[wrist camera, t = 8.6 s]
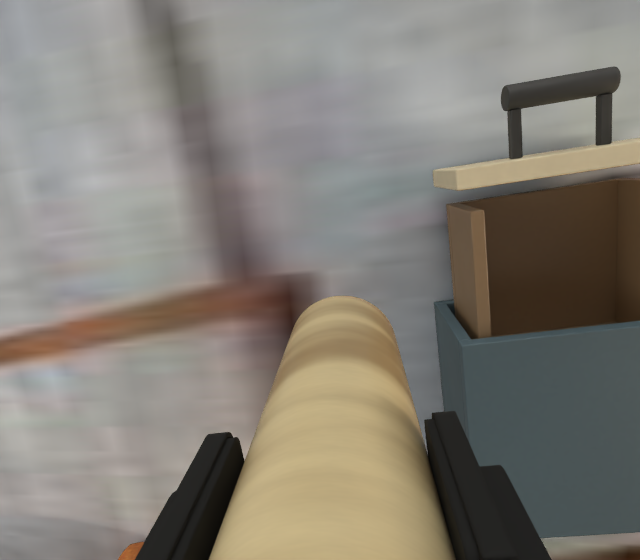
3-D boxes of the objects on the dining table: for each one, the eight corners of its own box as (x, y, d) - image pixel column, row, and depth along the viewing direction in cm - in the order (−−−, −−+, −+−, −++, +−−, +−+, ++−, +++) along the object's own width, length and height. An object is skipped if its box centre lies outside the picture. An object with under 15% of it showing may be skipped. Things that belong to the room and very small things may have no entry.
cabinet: (433, 301, 33) (461, 345, 25) (628, 277, 31) (728, 316, 23) (448, 458, 36) (476, 542, 28) (624, 443, 35) (709, 528, 26)
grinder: (282, 302, 18) (121, 611, 5) (389, 288, 17) (491, 592, 5) (300, 396, 19) (201, 839, 6) (400, 386, 18) (509, 843, 6)
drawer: (427, 108, 29) (449, 88, 22) (633, 72, 27) (723, 40, 20) (447, 343, 33) (471, 386, 26) (626, 323, 31) (700, 363, 25)
